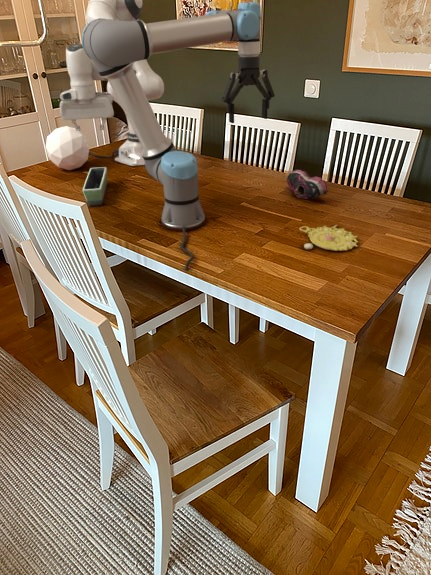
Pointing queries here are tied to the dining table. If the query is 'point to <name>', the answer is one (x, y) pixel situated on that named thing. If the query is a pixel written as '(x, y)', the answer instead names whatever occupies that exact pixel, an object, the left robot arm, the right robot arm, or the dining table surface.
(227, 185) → the dining table surface
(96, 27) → the right robot arm
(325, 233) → the decorative object
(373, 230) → the dining table surface
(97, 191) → the planter
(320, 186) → the athletic shoe
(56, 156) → the sphere
